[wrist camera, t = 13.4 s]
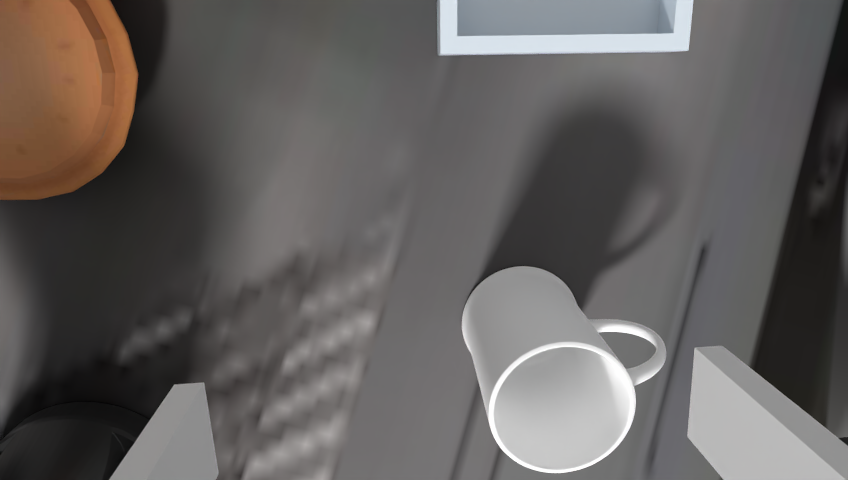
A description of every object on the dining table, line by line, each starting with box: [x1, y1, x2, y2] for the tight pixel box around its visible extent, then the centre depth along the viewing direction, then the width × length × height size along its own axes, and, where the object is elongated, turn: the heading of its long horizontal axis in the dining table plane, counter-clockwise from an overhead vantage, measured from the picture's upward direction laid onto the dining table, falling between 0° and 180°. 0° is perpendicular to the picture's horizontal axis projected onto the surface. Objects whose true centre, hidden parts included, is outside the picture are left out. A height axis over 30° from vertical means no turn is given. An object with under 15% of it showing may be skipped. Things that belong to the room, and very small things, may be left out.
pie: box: [0, 0, 139, 200], centre depth 35 cm, size 16×16×5 cm
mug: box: [462, 266, 666, 473], centre depth 38 cm, size 12×8×12 cm
